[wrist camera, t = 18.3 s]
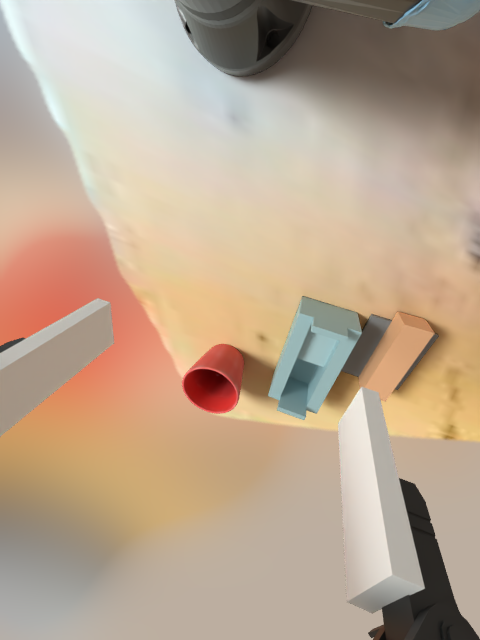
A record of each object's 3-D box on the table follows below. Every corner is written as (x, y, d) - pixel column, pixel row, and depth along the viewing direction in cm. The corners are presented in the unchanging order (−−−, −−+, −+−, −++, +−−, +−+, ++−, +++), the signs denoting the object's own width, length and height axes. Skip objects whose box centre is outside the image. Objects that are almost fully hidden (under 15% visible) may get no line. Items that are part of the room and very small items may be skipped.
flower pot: (262, 360, 52) (250, 395, 43) (232, 387, 57) (217, 422, 49) (220, 327, 51) (200, 357, 42) (194, 358, 56) (172, 389, 48)
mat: (371, 313, 41) (372, 315, 41) (437, 334, 40) (438, 336, 39) (340, 368, 47) (340, 370, 47) (396, 387, 46) (397, 390, 46)
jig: (302, 295, 43) (298, 321, 36) (357, 312, 42) (364, 342, 34) (273, 373, 52) (265, 405, 45) (317, 389, 51) (316, 424, 44)
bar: (397, 311, 39) (404, 324, 36) (425, 319, 39) (434, 333, 35) (358, 377, 47) (360, 393, 43) (381, 384, 46) (385, 401, 43)
